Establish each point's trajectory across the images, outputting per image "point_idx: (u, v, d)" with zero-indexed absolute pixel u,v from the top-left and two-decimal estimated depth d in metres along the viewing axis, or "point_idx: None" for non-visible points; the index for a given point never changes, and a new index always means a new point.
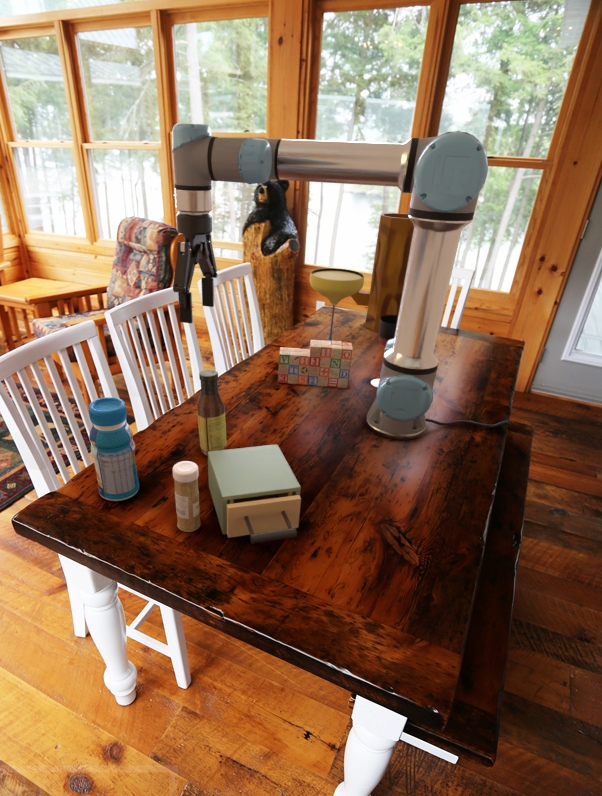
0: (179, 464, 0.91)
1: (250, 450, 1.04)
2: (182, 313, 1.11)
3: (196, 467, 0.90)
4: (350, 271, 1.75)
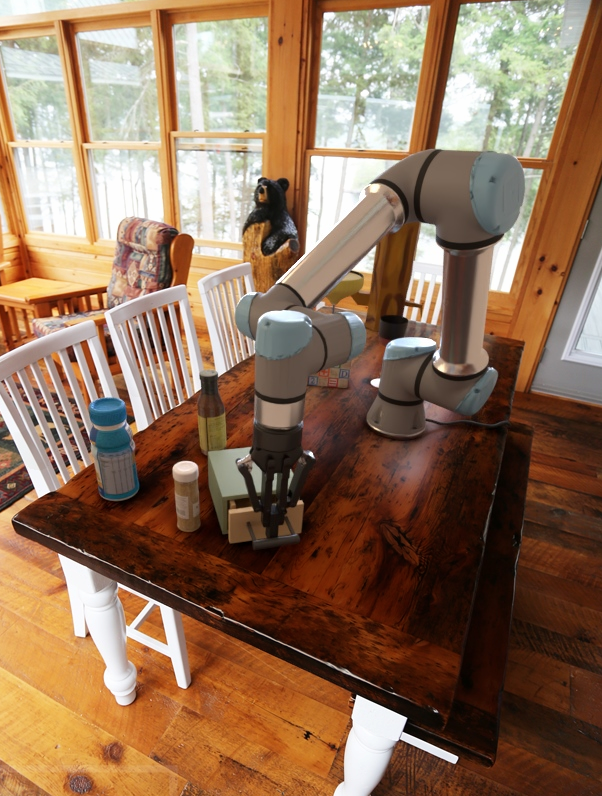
0: (179, 464, 0.91)
1: None
2: (266, 528, 0.88)
3: (196, 467, 0.90)
4: (350, 271, 1.75)
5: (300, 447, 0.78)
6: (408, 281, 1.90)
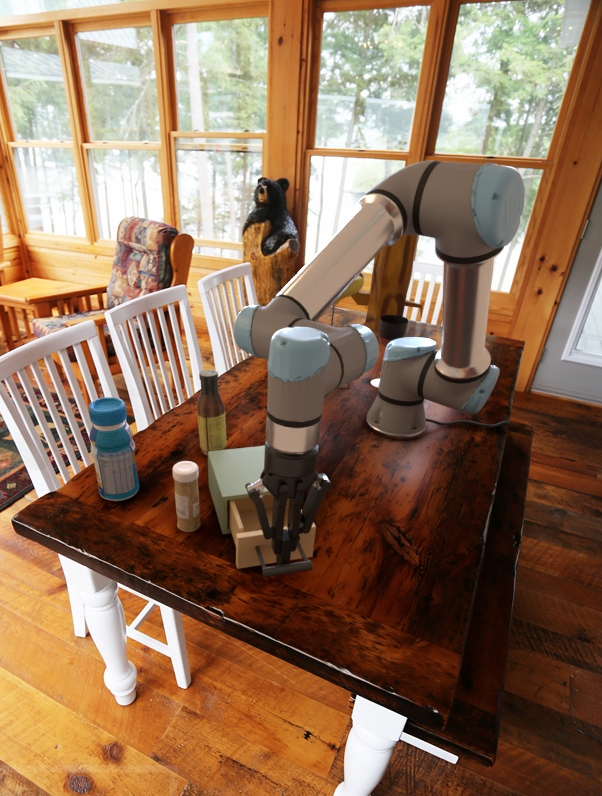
0: (179, 464, 0.91)
1: (250, 450, 1.04)
2: (277, 554, 0.83)
3: (196, 467, 0.90)
4: None
5: (315, 471, 0.73)
6: (408, 281, 1.90)
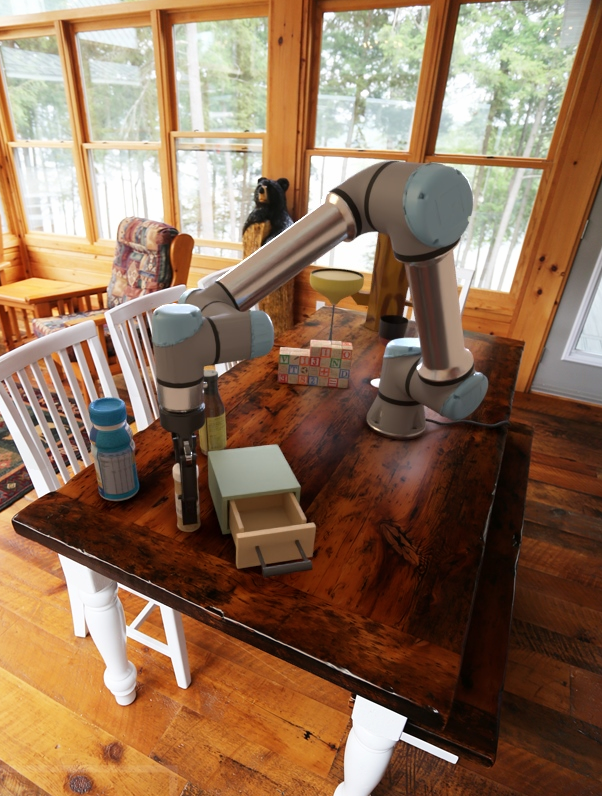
0: None
1: (250, 450, 1.04)
2: None
3: (196, 467, 0.90)
4: (350, 271, 1.75)
5: (179, 439, 0.83)
6: None
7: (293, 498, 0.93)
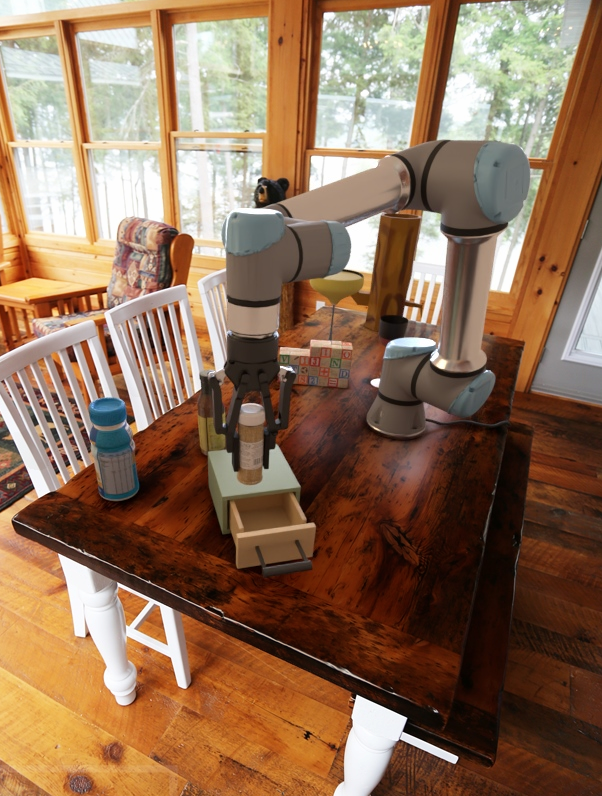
0: (245, 411, 0.79)
1: None
2: (232, 455, 0.84)
3: (251, 403, 0.81)
4: (350, 271, 1.75)
5: (276, 363, 0.75)
6: (408, 281, 1.90)
7: (293, 498, 0.93)
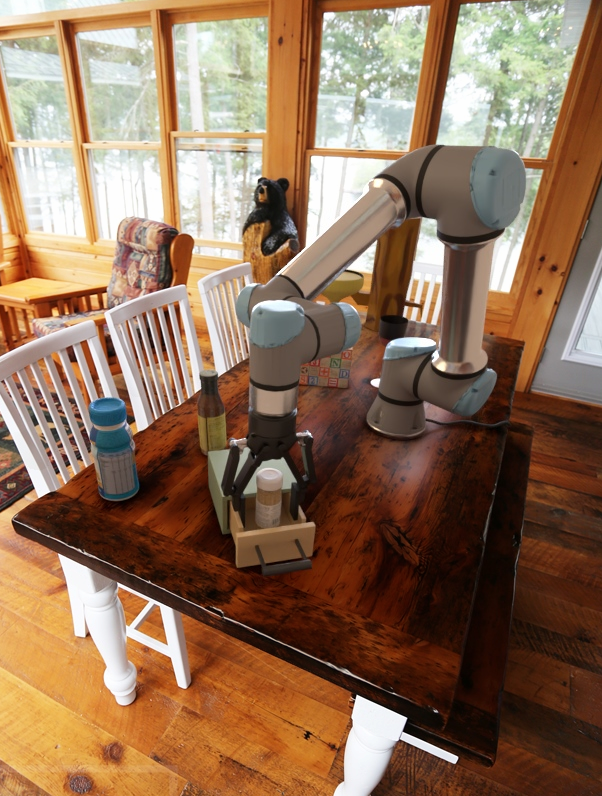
0: (265, 478, 0.84)
1: None
2: (238, 512, 0.89)
3: (269, 468, 0.87)
4: (350, 271, 1.75)
5: (294, 434, 0.81)
6: (408, 281, 1.90)
7: None
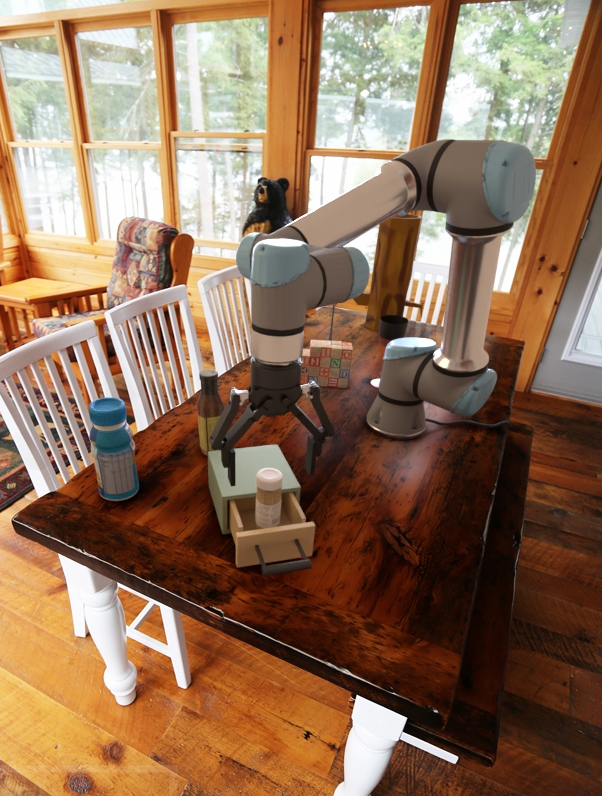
0: (265, 478, 0.84)
1: (250, 450, 1.04)
2: (228, 469, 0.83)
3: (269, 468, 0.87)
4: None
5: (299, 387, 0.76)
6: (408, 281, 1.90)
7: (293, 497, 0.93)
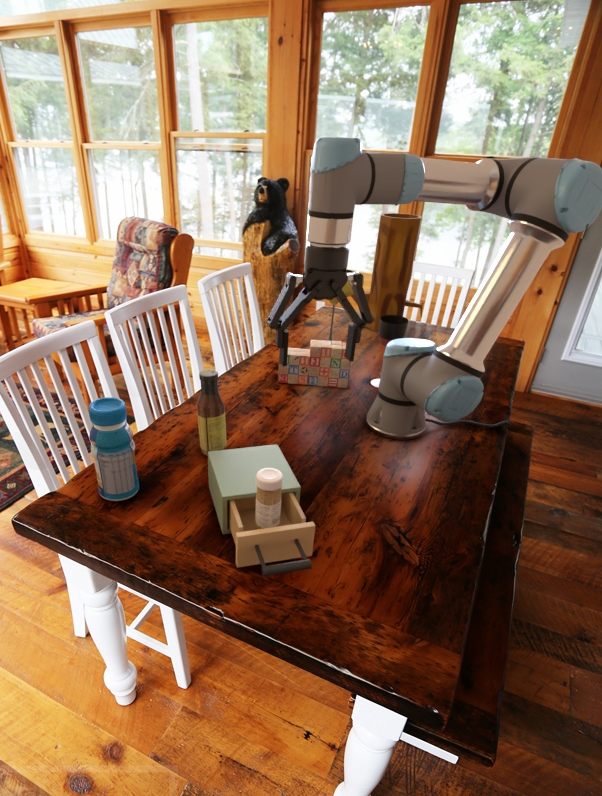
0: (265, 478, 0.84)
1: (250, 450, 1.04)
2: (280, 352, 0.96)
3: (269, 468, 0.87)
4: (350, 271, 1.75)
5: (345, 273, 0.89)
6: (408, 281, 1.90)
7: (293, 497, 0.93)
